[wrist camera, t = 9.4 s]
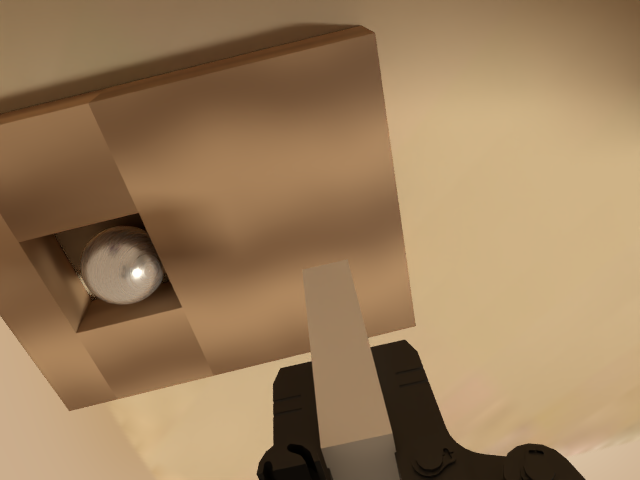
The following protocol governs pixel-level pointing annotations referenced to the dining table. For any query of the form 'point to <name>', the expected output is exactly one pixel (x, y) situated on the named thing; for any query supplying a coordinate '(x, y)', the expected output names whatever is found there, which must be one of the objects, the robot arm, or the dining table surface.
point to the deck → (203, 214)
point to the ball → (121, 265)
